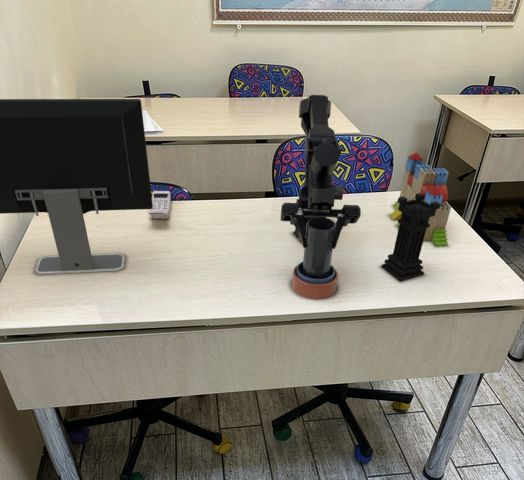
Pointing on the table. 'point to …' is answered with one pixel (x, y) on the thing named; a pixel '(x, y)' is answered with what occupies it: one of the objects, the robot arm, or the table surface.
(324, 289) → the stack bottom
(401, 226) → the chess piece
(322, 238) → the tumbler
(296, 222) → the robot arm
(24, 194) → the computer monitor
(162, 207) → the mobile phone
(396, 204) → the block set
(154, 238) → the table surface
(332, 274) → the stack middle
